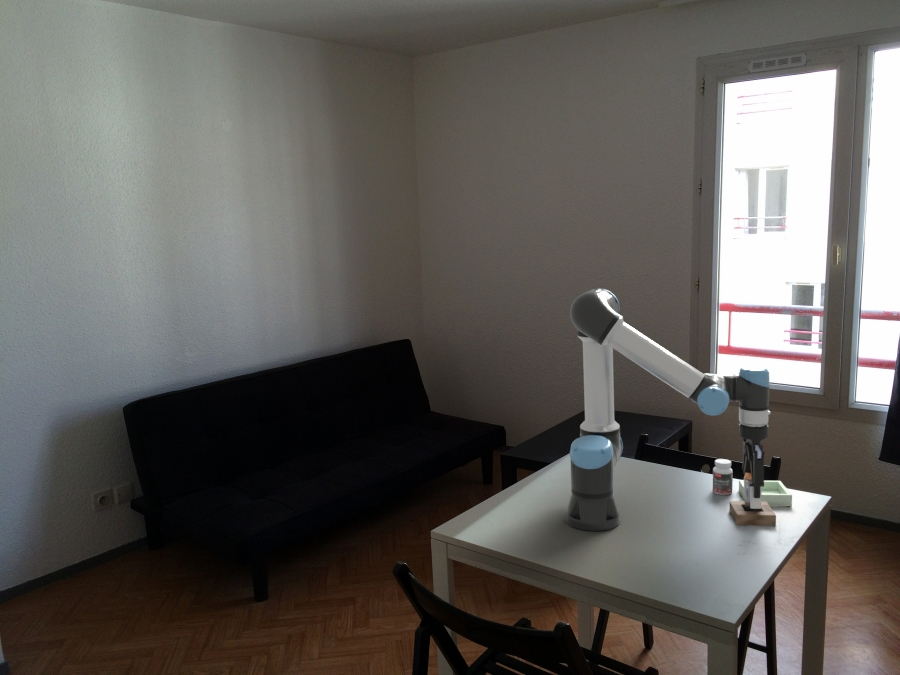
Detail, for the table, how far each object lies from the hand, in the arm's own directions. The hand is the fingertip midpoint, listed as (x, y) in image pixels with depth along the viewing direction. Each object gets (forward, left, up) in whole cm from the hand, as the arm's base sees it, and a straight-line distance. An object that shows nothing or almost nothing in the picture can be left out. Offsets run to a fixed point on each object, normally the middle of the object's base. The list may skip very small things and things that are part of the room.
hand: (752, 502), depth 203 cm
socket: (0, 0, -5) cm, 5 cm away
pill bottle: (-4, +20, -5) cm, 21 cm away
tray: (+7, +15, -5) cm, 17 cm away
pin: (0, 0, -5) cm, 5 cm away
